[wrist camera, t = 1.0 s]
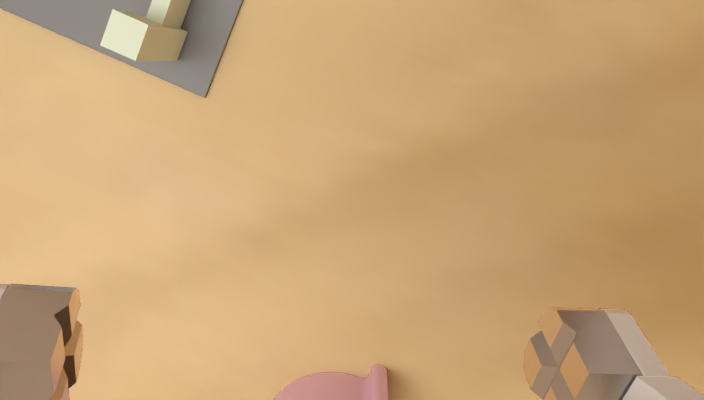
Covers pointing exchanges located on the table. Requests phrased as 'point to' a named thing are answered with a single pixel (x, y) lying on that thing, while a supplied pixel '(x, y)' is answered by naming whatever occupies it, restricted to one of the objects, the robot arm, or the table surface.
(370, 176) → the table surface
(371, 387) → the lilac double-ring holder
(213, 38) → the board
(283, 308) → the table surface
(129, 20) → the gate
